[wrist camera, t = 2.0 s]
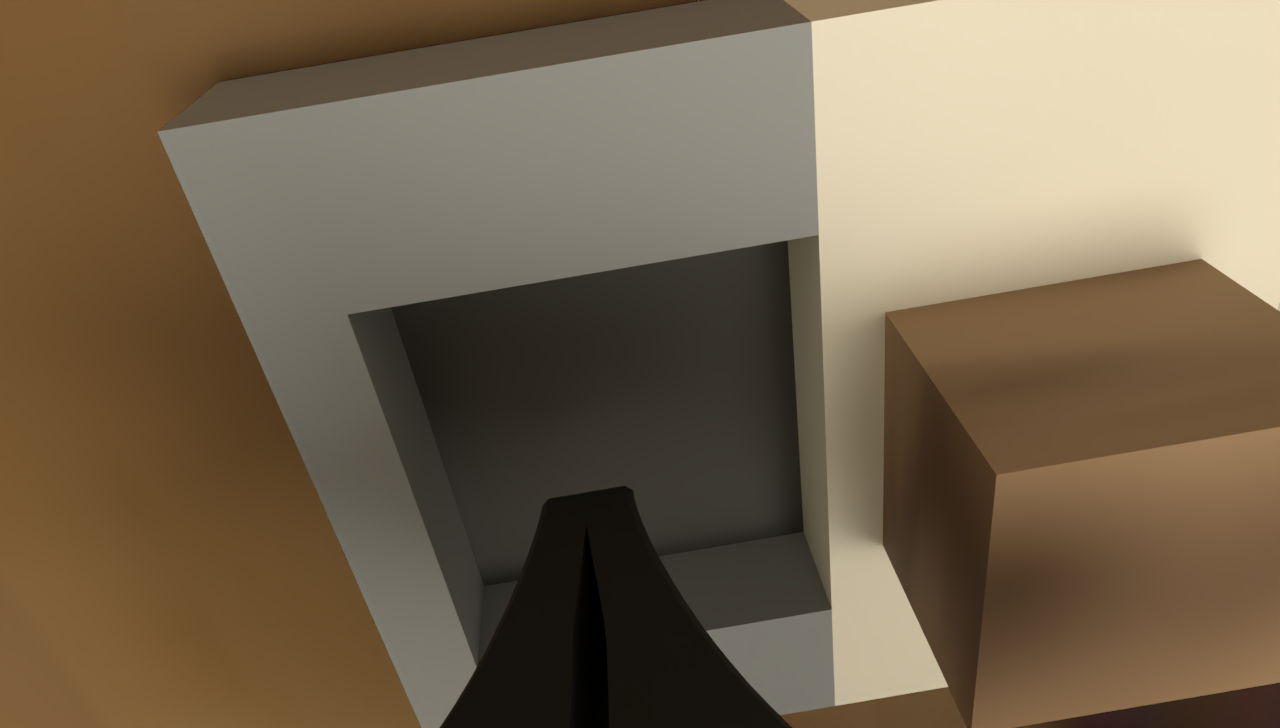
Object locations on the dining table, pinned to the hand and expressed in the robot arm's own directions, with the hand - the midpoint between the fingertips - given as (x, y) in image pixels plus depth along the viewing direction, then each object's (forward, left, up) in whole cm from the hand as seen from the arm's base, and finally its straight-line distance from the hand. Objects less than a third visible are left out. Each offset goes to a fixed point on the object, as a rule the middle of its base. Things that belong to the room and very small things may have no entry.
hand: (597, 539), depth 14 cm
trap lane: (0, -12, -4) cm, 12 cm away
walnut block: (0, -8, -1) cm, 8 cm away
